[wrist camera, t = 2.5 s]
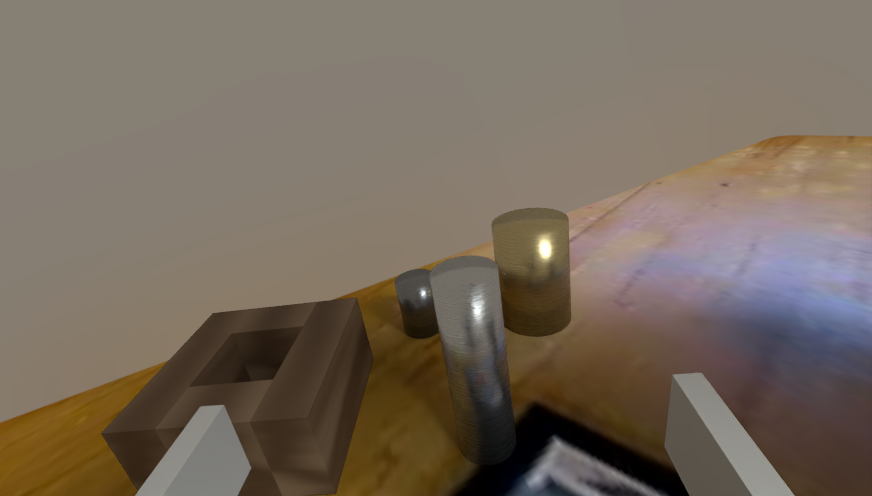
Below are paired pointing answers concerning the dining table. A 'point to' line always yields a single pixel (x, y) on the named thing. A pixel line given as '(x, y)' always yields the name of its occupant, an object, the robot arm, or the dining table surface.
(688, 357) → the dining table surface
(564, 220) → the fat brass roller
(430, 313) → the short dark roller
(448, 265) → the steel roller
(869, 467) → the dining table surface
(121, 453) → the walnut block
